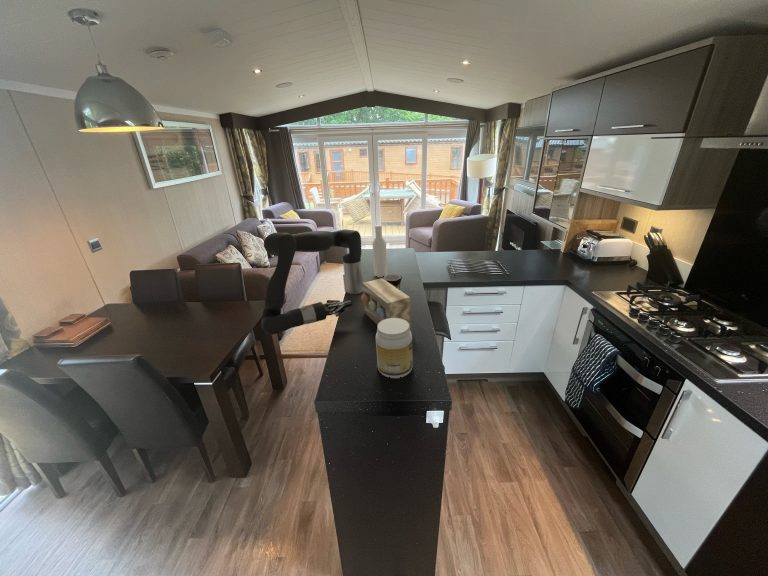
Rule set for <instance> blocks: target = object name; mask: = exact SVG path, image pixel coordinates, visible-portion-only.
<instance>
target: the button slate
mask: <svg viewBox="0 0 768 576" xmlns="http://www.w3.org/2000/svg"><path fill="white" fill-rule="evenodd" d="M376 314H377V316H378V318H379V319H381V318H384V317H385V311H384V309H383V308H382V307H381V308H378V309H376Z"/></svg>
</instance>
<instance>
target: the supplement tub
mask: <svg viewBox="0 0 768 576" xmlns="http://www.w3.org/2000/svg"><path fill="white" fill-rule="evenodd" d="M375 346H376V348H375V349H376V363H377V369H378V371H379V373H381V375H382V376H384V377H387V378H389V377H390V379H401V378H404V377H406V376H407V375H408V374H410V373H411V372H412V369H413V367H414V365H413V364H414V361H413V357H414V356H413V333H412V331H411V327H410V328H409V323H408V322H407V321H406V320H403V319H400V318H388V319H385V320H382V321H381V322H380V323H379V324H378V325H377V329H376V334H375ZM400 377H401V378H400Z"/></svg>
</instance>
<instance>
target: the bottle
mask: <svg viewBox="0 0 768 576" xmlns="http://www.w3.org/2000/svg"><path fill="white" fill-rule="evenodd" d="M382 228H383V227H382V225H381V224H376V225H374V229H375V233H374V234H375V237H374V239H373V241H372V257H373V258H372V259H373V273H374V276H375V277H376V276H377V277H376V278H384V277H383V276H386V275H388V257H387V255H388V254H387V242H386V240H385V238H383V230H382Z"/></svg>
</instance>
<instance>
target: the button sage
mask: <svg viewBox="0 0 768 576" xmlns="http://www.w3.org/2000/svg"><path fill="white" fill-rule="evenodd" d="M368 305H369V309H370V310H371V311H375V310H376V309H377V305H376V302H375V301H374V300H373V301H370V302H369V303H368Z"/></svg>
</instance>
